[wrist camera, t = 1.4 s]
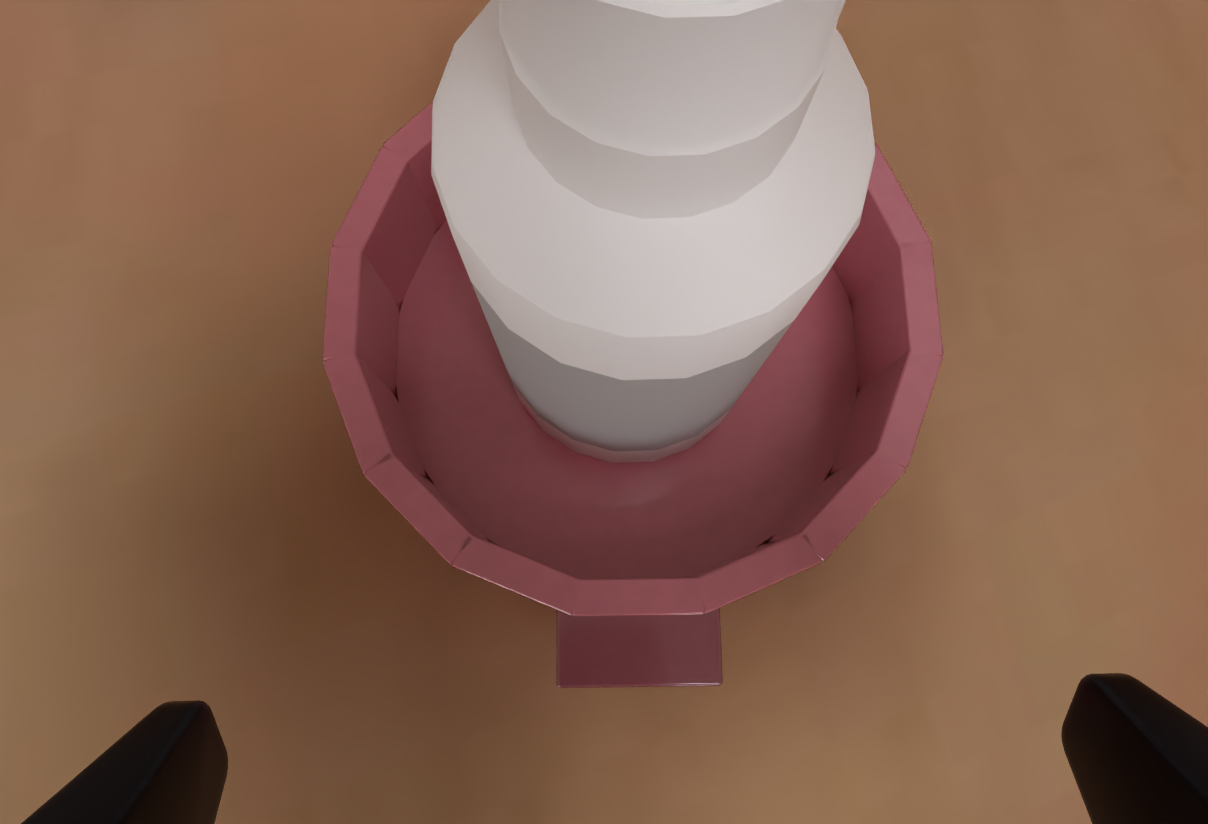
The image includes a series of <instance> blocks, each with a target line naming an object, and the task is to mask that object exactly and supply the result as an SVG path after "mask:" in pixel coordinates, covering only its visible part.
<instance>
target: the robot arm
mask: <svg viewBox="0 0 1208 824" xmlns="http://www.w3.org/2000/svg"><path fill="white" fill-rule="evenodd" d="M1062 743H1063V747H1064V751H1065V754H1066V756H1067V759H1068V762H1069V764H1070V767H1071V769H1072V772H1073V775H1074V777H1075V780H1076V782H1077V785H1078V788H1079V790H1080V793H1081V795H1082V798H1083V801H1084V803H1085V806H1086V808H1087V811H1088V814H1089V816H1090V819H1091V821H1092V824H1208V727H1206V726H1205V725H1204V724H1202V723H1201V722H1199V721H1198V720H1196V719H1195V718H1193V717H1192V716H1190V715H1189V714H1187V713H1186V712H1184V711H1183V710H1181V709H1180V708H1178V707H1177V706H1176V705H1174V704H1173V703H1171V702H1170V701H1168V700H1167V699H1165V698H1164V697H1162V696H1161V695H1159V694H1158V693H1156V692H1155V691H1153V690H1152V689H1151V688H1149V687H1148V686H1146V685H1145V684H1143V683H1142V682H1140V681H1139V680H1137V679H1135V678H1134V677H1132V676H1129V675H1127V674H1122V673H1108V674H1090V675H1086V676H1085V677H1084V678H1083V679H1081V681H1080V683H1079V685H1078V687H1077V690H1076V692H1075V695H1074V697H1073V700H1072V702H1071V705H1070V707H1069V710H1068V712H1067V715H1066V717H1065V720H1064V723H1063V726H1062ZM227 770H228V756H227V751H226V748H225V745H224V742H223V740H222V737H221V734H220V732H219V729H218V726H217V724H216V721H215V718H214V716H213V713H212V711H211V709H210V707H209V705H207V704H206V703H205V702H204V701H172V702H166V703H163V704H162V705H160V706H158V707H157V708H155V709H154V710H153V711H152V712H150V713H149V714H148V715H147V716H146V717H145V718H143V719H142V720H141V721H140V722H139V723H138V724H136V725H135V726H134V727H133V728H132V729H131V730H130V731H128V732H127V733H126V734H125V735H124V736H123V737H121V738H120V739H119V740H118V741H117V742H116V743H114V744H113V745H112V746H111V747H110V748H109V749H107V750H106V751H105V752H104V753H103V754H102V755H100V756H99V757H98V758H97V759H96V760H95V761H93V762H92V763H91V764H90V765H89V766H88V767H86V768H85V769H84V770H83V771H82V772H81V773H79V774H78V775H77V776H76V777H75V778H74V779H73V780H71V781H70V782H69V783H68V784H67V785H66V786H64V787H63V788H62V789H61V790H60V791H59V792H57V793H56V794H55V795H54V796H53V797H52V798H50V799H49V800H48V801H47V802H46V803H45V804H43V805H42V806H41V807H40V808H39V809H38V810H36V811H35V812H34V813H33V814H32V815H31V816H29V817H28V818H27V819H26V820H25V821H24V822H22V823H21V824H214V823H215V819H216V815H217V811H218V807H219V803H220V800H221V796H222V792H223V788H224V784H225V780H226V776H227Z"/></svg>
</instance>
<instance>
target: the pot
mask: <svg viewBox="0 0 1208 824" xmlns="http://www.w3.org/2000/svg"><path fill="white" fill-rule="evenodd" d="M432 108H433V101H432V102H431V103H430V104H429V105H427V106H426V107H425V108H424V109H423V110H422V111H420V112H419V113H418V114H417V115H416V116H415V117H414V118H412V119H411V120H410V121H409V122H408V123H407V124H405V125H404V126H403V127H402V128H401V129H400V130H398V131H397V132H396V133H395V134H394V135H393V136H391V137H390V138H389V139H388V140H387V141H386V142H385V143H383V147H381V148H380V150H379V152H378V154H377V156H376V158H375V160H374V162H373V164H372V166H371V168H370V170H369V172H368V174H367V176H366V177H365V179H364V181H363V183H362V185H361V187H360V189H359V191H358V193H357V195H356V197H355V199H354V201H353V203H352V205H351V207H350V209H349V211H348V212H347V214H346V216H345V218H344V220H343V222H342V224H341V226H340V228H339V230H338V232H337V234H336V236H335V238H334V240H333V242H332V247H331V248H330V256H329V270H328V285H327V299H326V314H325V328H324V342H323V357H322V358H323V366H324V369H325V371H326V374H327V377H328V380H329V382H330V385H331V388H332V391H333V393H334V396H335V399H336V402H337V404H338V407H339V410H340V413H341V415H342V418H343V421H344V424H345V426H346V429H347V432H348V435H349V437H350V440H351V443H352V445H353V448H354V451H355V454H356V456H357V459H358V462H359V465H360V467H361V470H362V472H363V473H364V476H365V477H366V478H367V479H368V480H369V481H370V482H371V484H372V485H373V486H374V487H375V488H376V489H377V490H378V491H379V492H380V493H381V494H382V495H383V496H384V497H385V498H386V499H387V500H388V501H389V502H390V503H391V504H392V505H393V506H394V507H395V508H396V509H397V511H398V512H399V513H400V514H401V515H402V516H403V517H404V518H405V519H406V520H407V521H408V522H409V523H410V524H411V525H412V526H413V527H414V528H415V529H416V530H417V531H418V532H419V533H420V534H421V535H422V536H423V537H424V539H425V540H426V541H427V542H428V543H429V544H430V545H431V546H432V547H433V548H434V549H435V550H436V551H437V552H438V553H439V554H440V555H441V556H442V557H443V558H444V559H445V560H446V561H447V562H448V563H449V564H450V565H452V566H453V567H455V568H457V569H460V570H462V571H464V572H467V573H469V574H472V575H474V576H476V577H479V578H481V579H484V580H486V581H488V582H491V583H493V584H496V585H498V586H500V587H503V588H505V589H508V590H510V591H512V592H515V593H517V594H520V595H522V596H524V597H527V598H529V599H532V600H534V601H536V602H539V603H541V604H544V605H546V606H549V607H551V608H553V609H556V610H557V655H556V684H557V687H559V688H600V687H685V686H720V685H722V683H723V676H722V652H721V627H720V608H721V607H724V606H726V605H728V604H730V603H732V602H735V601H737V600H739V599H741V598H744V597H746V596H748V595H750V594H753V593H755V592H757V591H759V590H762V589H764V588H766V587H768V586H771V585H773V584H775V583H777V582H780V581H782V580H784V579H786V578H789V577H791V576H793V575H795V574H798V573H800V572H802V571H804V570H807V569H809V568H811V567H813V566H816V565H818V564H820V562H821V561H824V560H826V559H827V558H828V557H829V555H830V554H831V553H832V552H833V551H834V550H835V549H836V548H837V547H838V546H839V544H840V543H841V542H842V541H843V540H844V539H845V538H846V537H847V536H848V534H849V533H850V532H851V531H852V530H853V529H854V528H855V527H856V526H857V524H858V523H859V522H860V521H861V520H862V519H863V518H864V517H865V516H866V514H867V513H868V512H869V511H870V510H871V509H872V508H873V507H874V506H875V505H876V503H877V502H878V501H879V500H880V499H881V498H882V497H883V496H884V495H885V493H886V492H887V491H888V490H889V489H890V488H891V487H892V486H893V485H894V483H895V482H896V481H897V480H898V479H899V478H900V477H901V476H902V475H903V474H904V472H905V471H906V468H907V467H908V465H909V462H910V459H911V455H912V452H913V449H914V446H915V443H916V440H917V437H918V434H919V430H920V427H921V424H922V421H923V418H924V415H925V412H926V409H927V406H928V402H929V399H930V396H931V393H932V390H933V387H934V384H935V381H936V378H937V374H938V371H939V368H940V365H941V362H942V356H943V346H942V337H941V328H940V319H939V309H938V300H937V291H936V281H935V272H934V263H933V254H932V244H931V242H930V239H929V237H928V235H927V233H926V231H925V230H924V228H923V226H922V224H921V222H920V221H919V219H918V217H917V215H916V213H915V211H914V210H913V208H912V206H911V204H910V202H909V201H908V199H907V197H906V195H905V193H904V192H903V190H902V188H901V186H900V184H899V183H898V181H897V179H896V177H895V175H894V174H893V172H892V170H891V168H890V166H889V165H888V163H887V161H886V159H885V157H884V155H883V154H882V152H881V150H880V148H879V146H878V145H877V144H876V143H875V144H874V145H875V158H874V164H873V168H872V173H871V177H870V181H869V185H868V190H867V194H866V198H865V202H864V207H863V211H862V215H861V219H860V224H859V226H858V227H857V229H856V230H855V232H854V234H853V235H852V237H851V238H850V240H849V241H848V243H847V244H846V246H845V247H844V249H843V250H842V252H841V253H840V255H839V256H838V258H837V259H836V261H835V263H834V264H833V266H832V267H831V269H830V270H829V272H828V273H827V275H826V276H825V278H824V279H823V281H822V282H821V284H820V285H819V286H818V288H817V289H816V291H815V292H814V293H813V295H812V296H811V298H810V299H809V300H808V302H807V303H806V305H805V306H804V307H803V309H802V310H801V312H800V313H799V314H798V316H797V317H796V318H795V320H794V321H793V323H792V324H791V325H790V327H789V328H788V330H787V331H786V332H785V334H784V335H783V337H782V338H781V339H780V341H779V342H778V344H777V345H776V346H775V348H774V349H773V351H772V352H771V353H770V355H769V356H768V358H767V359H766V360H765V362H764V363H763V365H762V366H761V367H760V369H759V370H758V372H757V373H756V374H755V376H754V377H753V379H752V380H751V381H750V383H749V384H748V386H747V387H746V388H745V390H744V391H743V393H742V394H741V395H740V397H739V398H738V400H737V401H736V402H735V404H734V405H733V407H732V408H731V409H730V411H729V412H728V414H727V415H726V416H725V418H724V419H723V420H722V422H721V423H720V425H718V426H717V427H716V428H715V429H713V430H712V431H711V432H710V433H708V434H707V435H706V436H704V437H703V438H702V439H701V440H699V441H698V442H697V443H695V444H694V445H693V446H692V447H690V448H689V449H686V450H683V451H681V452H678V453H675V454H672V455H669V456H667V457H664V458H661V459H658V460H656V461H653V462H626V463H611V462H608V461H604V460H601V459H597V458H594V457H590V456H587V455H583V454H580V453H576V452H574V451H573V450H571V449H570V448H568V447H567V446H565V445H564V444H562V443H561V442H559V441H558V440H556V439H555V438H553V437H552V436H550V435H549V434H547V433H546V432H544V431H543V430H542V429H541V428H540V426H539V425H538V424H537V423H536V421H535V420H534V419H533V417H532V416H531V415H530V414H529V412H528V411H527V410H526V408H525V407H524V406H523V405H522V403H521V402H520V401H519V399H518V396H517V394H516V391H515V389H514V386H513V384H512V382H511V379H510V377H509V374H508V372H507V369H506V367H505V364H504V362H503V359H502V357H501V354H500V352H499V349H498V347H497V345H496V342H495V340H494V337H493V335H492V332H491V330H490V327H489V325H488V322H487V320H486V317H485V315H484V313H483V310H482V308H481V305H480V303H479V300H478V298H477V295H476V293H475V290H474V288H473V285H472V283H471V280H470V278H469V276H468V273H467V271H466V268H465V266H464V263H463V261H462V258H461V256H460V253H459V251H458V248H457V246H456V243H455V241H454V239H453V236H452V233H451V230H450V227H449V225H448V222H447V219H446V216H445V213H444V210H443V207H442V204H441V202H440V199H439V196H438V193H437V190H436V187H435V184H434V181H433V178H432V176H431V156H432ZM401 305H402V306H401ZM397 395H398V397H397ZM829 471H830V472H829ZM828 473H829V475H828ZM427 474H428V475H427ZM827 475H828V476H827ZM428 476H429V478H430V479H431V480H430V479H429V478H428ZM826 476H827V477H826ZM769 538H770V539H769ZM768 539H769V540H768ZM489 540H490V541H491V542H493V543H494V544H493V543H491V542H490V541H489ZM767 540H768V541H767ZM765 541H767V542H766V543H764V542H765ZM762 543H764V544H762Z"/></svg>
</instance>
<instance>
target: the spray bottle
mask: <svg viewBox="0 0 1208 824" xmlns="http://www.w3.org/2000/svg"><path fill="white" fill-rule="evenodd" d="M845 1H846V0H490V1H489V3H488V4H487V5H486V6H485V7H484V9H483V10H482V11H481V12H480V14H479V15H478V16H477V17H476V18H475V20H474V21H473V22H472V23H471V24H470V26H469V27H468V28H467V29H466V31H465V32H464V33H463V34H462V35H461V37H460V38H459V39H458V40H457V41H456V43H455V44H454V47H453V50H452V52H451V55H450V58H449V60H448V63H447V66H446V68H445V71H444V74H443V76H442V79H441V82H440V84H439V87H438V90H437V92H436V95H435V98H434V100H433V108H432V156H431V176H432V178H433V181H434V184H435V187H436V190H437V193H438V196H439V199H440V202H441V204H442V207H443V210H444V213H445V216H446V219H447V222H448V225H449V227H450V230H451V233H452V236H453V239H454V241H455V243H456V246H457V248H458V251H459V253H460V256H461V258H462V261H463V263H464V266H465V268H466V271H467V273H468V276H469V278H470V280H471V283H472V285H473V288H474V290H475V293H476V295H477V298H478V300H479V303H480V305H481V308H482V310H483V313H484V315H485V317H486V320H487V322H488V325H489V327H490V330H491V332H492V335H493V337H494V340H495V342H496V345H497V347H498V349H499V352H500V354H501V357H502V359H503V362H504V364H505V367H506V369H507V372H508V374H509V377H510V379H511V382H512V384H513V386H514V389H515V391H516V394H517V396H518V399H519V401H520V402H521V403H522V405H523V406H524V407H525V408H526V410H527V411H528V412H529V414H530V415H531V416H532V417H533V419H534V420H535V421H536V423H537V424H538V425H539V426H540V428H541V429H542V430H543V431H544V432H546V433H547V434H549V435H550V436H552V437H553V438H555V439H556V440H558V441H559V442H561V443H562V444H564V445H565V446H567V447H568V448H570V449H571V450H573V451H574V452H576V453H580V454H583V455H587V456H590V457H594V458H597V459H601V460H604V461H608V462H611V463H626V462H653V461H656V460H658V459H661V458H664V457H667V456H669V455H672V454H675V453H678V452H681V451H683V450H686V449H689V448H690V447H692V446H693V445H694V444H695V443H697V442H698V441H699V440H701V439H702V438H703V437H704V436H706V435H707V434H708V433H710V432H711V431H712V430H713V429H715V428H716V427H717V426H718V425H720V423H721V422H722V420H723V419H724V418H725V416H726V415H727V414H728V412H729V411H730V409H731V408H732V407H733V405H734V404H735V402H736V401H737V400H738V398H739V397H740V395H741V394H742V393H743V391H744V390H745V388H746V387H747V386H748V384H749V383H750V381H751V380H752V379H753V377H754V376H755V374H756V373H757V372H758V370H759V369H760V367H761V366H762V365H763V363H764V362H765V360H766V359H767V358H768V356H769V355H770V353H771V352H772V351H773V349H774V348H775V346H776V345H777V344H778V342H779V341H780V339H781V338H782V337H783V335H784V334H785V332H786V331H787V330H788V328H789V327H790V325H791V324H792V323H793V321H794V320H795V318H796V317H797V316H798V314H799V313H800V312H801V310H802V309H803V307H804V306H805V305H806V303H807V302H808V300H809V299H810V298H811V296H812V295H813V293H814V292H815V291H816V289H817V288H818V286H819V285H820V284H821V282H822V281H823V279H824V278H825V276H826V275H827V273H828V272H829V270H830V269H831V267H832V266H833V264H834V263H835V261H836V259H837V258H838V256H839V255H840V253H841V252H842V250H843V249H844V247H845V246H846V244H847V243H848V241H849V240H850V238H851V237H852V235H853V234H854V232H855V230H856V229H857V227H858V226H859V224H860V219H861V215H862V211H863V207H864V202H865V198H866V194H867V190H868V185H869V181H870V177H871V173H872V168H873V164H874V158H875V145H874V137H873V128H872V120H871V112H870V103H869V95H868V89H867V87H866V85H865V83H864V81H863V79H862V77H861V75H860V73H859V71H858V69H857V67H856V65H855V63H854V61H853V59H852V57H851V55H850V52H849V50H848V48H847V46H846V44H845V42H844V40H843V38H842V36H841V34H840V33H839V32H838V31H837V30H836V26H837V20H838V18H839V16H840V13H841V11H842V8H843V6H844V4H845Z"/></svg>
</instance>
